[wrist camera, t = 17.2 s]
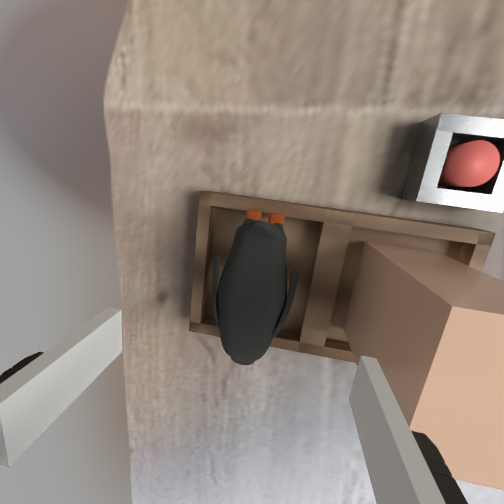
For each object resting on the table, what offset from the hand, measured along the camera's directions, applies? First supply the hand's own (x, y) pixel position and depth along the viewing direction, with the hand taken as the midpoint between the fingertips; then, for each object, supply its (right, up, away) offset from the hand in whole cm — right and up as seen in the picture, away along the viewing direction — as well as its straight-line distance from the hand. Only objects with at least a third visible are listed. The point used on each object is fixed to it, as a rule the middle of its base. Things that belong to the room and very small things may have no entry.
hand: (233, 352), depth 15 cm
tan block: (+15, +1, +13) cm, 20 cm away
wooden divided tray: (+9, +2, +15) cm, 17 cm away
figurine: (+1, +2, +13) cm, 14 cm away
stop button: (+20, +13, +10) cm, 26 cm away
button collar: (+20, +13, +11) cm, 26 cm away
